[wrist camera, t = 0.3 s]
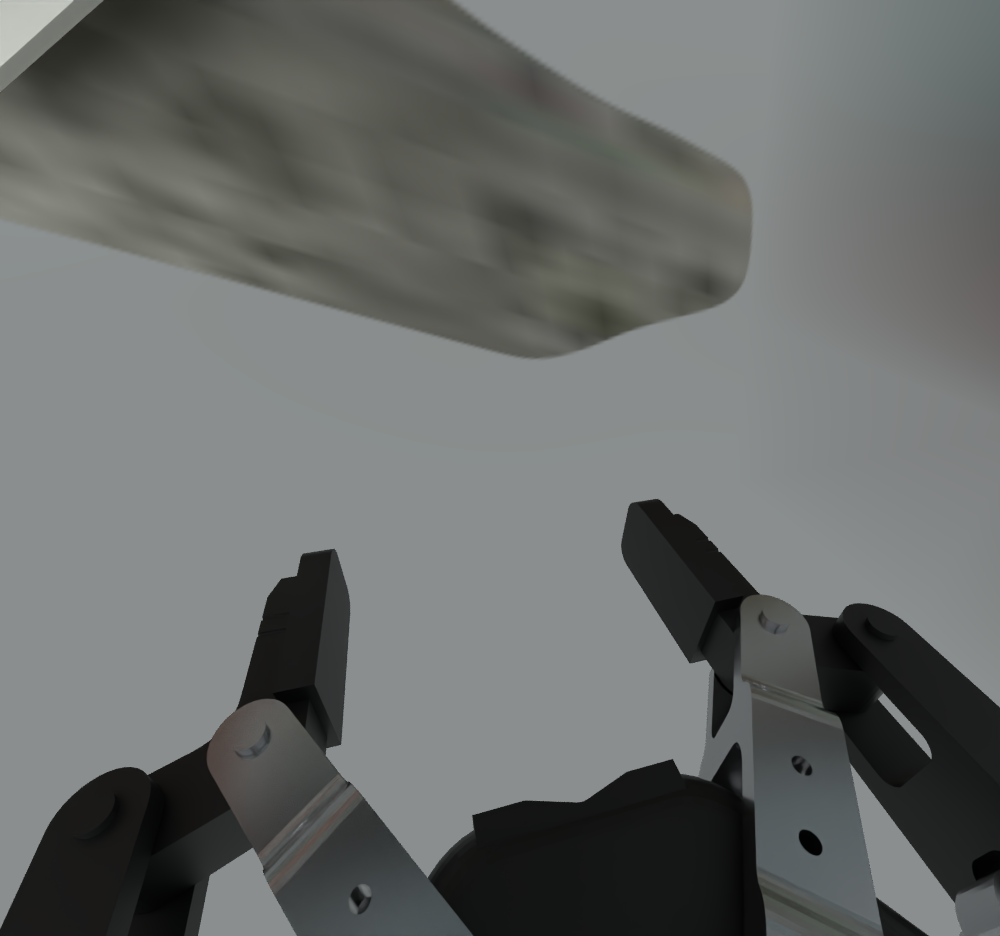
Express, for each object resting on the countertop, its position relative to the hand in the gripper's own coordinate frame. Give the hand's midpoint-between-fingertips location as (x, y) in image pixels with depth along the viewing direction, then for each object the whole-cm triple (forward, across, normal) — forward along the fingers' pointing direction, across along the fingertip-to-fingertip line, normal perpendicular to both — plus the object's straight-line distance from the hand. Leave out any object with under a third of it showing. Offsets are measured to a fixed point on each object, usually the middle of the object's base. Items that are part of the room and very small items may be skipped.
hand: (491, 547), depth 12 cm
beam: (+13, +18, -24) cm, 33 cm away
